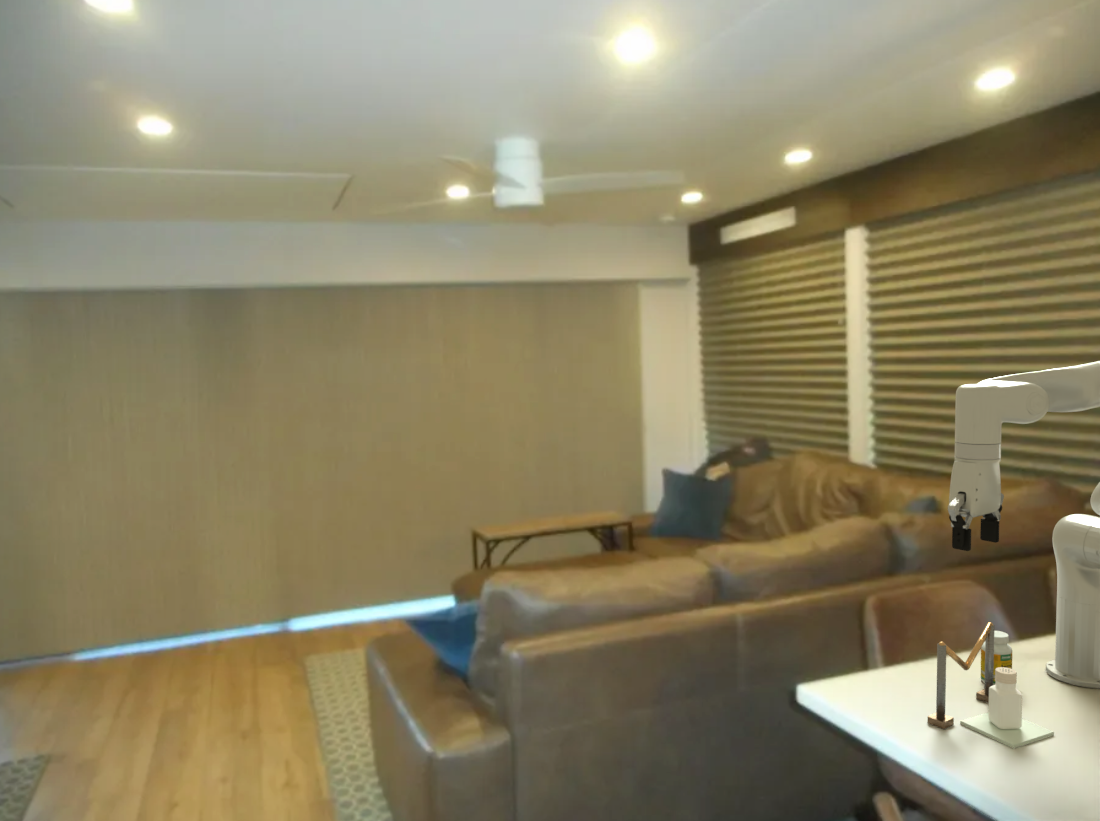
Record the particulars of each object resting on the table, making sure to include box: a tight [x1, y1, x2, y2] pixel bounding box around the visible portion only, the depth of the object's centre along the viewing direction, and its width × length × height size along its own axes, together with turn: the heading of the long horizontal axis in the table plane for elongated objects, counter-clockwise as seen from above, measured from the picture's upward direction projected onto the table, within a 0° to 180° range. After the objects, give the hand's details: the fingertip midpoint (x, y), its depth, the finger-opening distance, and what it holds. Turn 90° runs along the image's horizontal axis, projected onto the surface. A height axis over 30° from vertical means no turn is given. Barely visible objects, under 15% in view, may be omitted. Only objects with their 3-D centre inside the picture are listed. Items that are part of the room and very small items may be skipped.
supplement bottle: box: [980, 630, 1013, 685], centre depth 163 cm, size 5×5×10 cm
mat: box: [959, 711, 1055, 749], centre depth 144 cm, size 10×10×1 cm
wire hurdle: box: [927, 621, 995, 730], centre depth 151 cm, size 19×3×14 cm, turn 125°
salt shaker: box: [987, 667, 1023, 729], centre depth 144 cm, size 4×4×10 cm
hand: (975, 545), depth 156 cm, fingers open, 9 cm apart
